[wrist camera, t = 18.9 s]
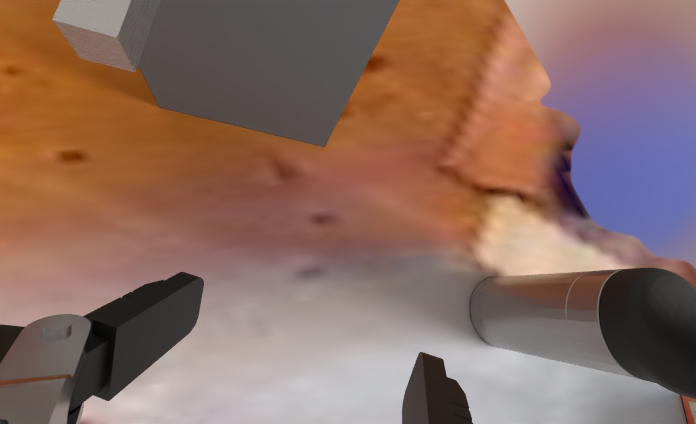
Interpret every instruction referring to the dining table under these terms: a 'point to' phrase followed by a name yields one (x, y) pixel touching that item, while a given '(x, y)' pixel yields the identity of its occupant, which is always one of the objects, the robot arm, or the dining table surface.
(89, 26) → the flanged bar
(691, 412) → the cracker box
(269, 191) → the dining table surface
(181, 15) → the stepped shelf
